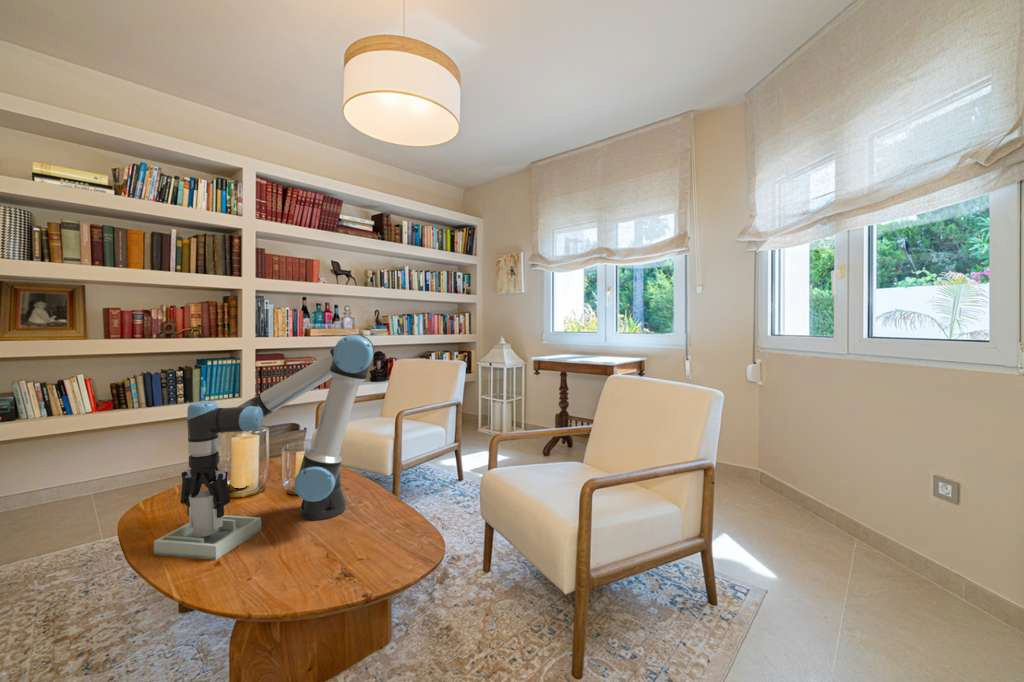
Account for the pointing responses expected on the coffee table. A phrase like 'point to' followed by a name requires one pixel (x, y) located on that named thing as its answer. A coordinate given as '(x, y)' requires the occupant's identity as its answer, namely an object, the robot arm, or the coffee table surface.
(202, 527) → the cup
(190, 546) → the box
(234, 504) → the coffee table surface
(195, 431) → the robot arm
